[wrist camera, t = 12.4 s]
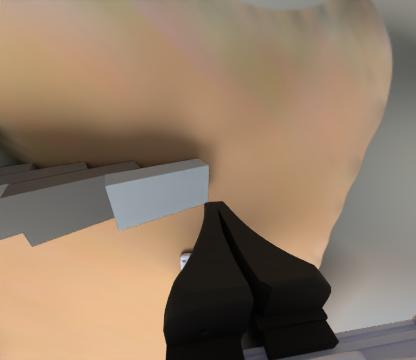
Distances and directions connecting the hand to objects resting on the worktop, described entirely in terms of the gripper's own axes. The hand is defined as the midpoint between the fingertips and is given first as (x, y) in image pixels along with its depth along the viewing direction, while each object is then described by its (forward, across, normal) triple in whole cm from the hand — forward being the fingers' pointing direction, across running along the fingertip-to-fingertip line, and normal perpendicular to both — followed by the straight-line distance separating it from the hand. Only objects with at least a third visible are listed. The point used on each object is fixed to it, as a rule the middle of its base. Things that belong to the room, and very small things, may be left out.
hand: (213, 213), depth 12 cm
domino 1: (+5, +6, 0) cm, 8 cm away
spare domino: (+5, 0, 0) cm, 5 cm away
